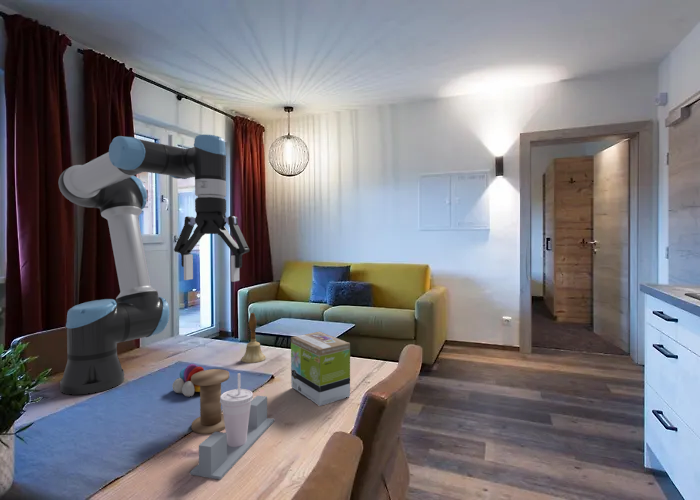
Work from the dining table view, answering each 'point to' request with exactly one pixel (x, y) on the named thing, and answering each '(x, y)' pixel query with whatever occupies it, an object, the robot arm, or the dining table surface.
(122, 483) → the dining table surface
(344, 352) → the tea box
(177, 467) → the dining table surface
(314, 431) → the dining table surface
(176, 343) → the dining table surface
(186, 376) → the rainbow toy
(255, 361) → the hand bell
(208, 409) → the bobbin
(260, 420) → the board with upright blocks
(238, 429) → the smoothie
